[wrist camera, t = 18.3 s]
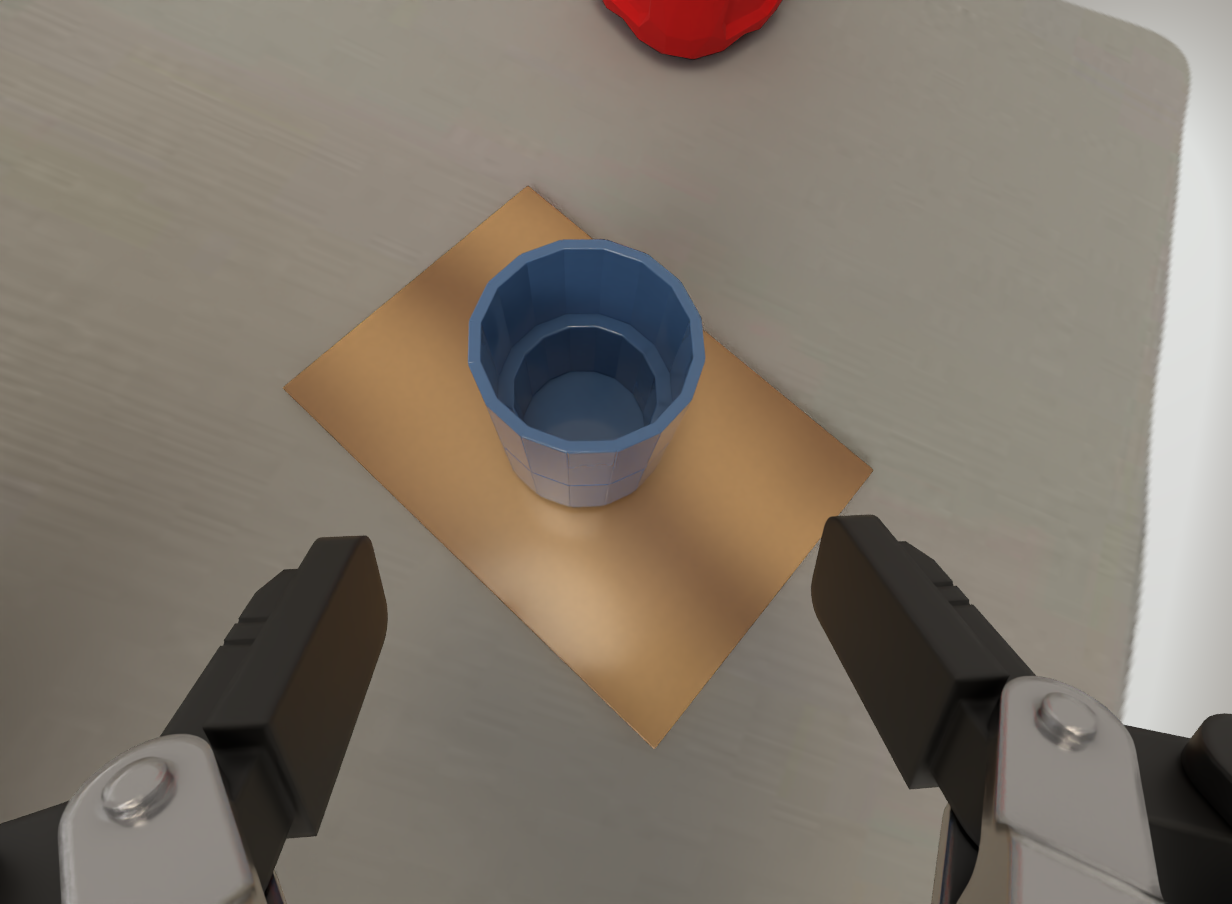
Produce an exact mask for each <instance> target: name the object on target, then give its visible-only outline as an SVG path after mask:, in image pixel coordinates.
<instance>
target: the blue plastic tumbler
mask: <svg viewBox="0 0 1232 904" xmlns="http://www.w3.org/2000/svg"><path fill="white" fill-rule="evenodd" d="M705 359H706V357H705V348H704V338H703V328H702V319H701V316H700V314H699V313H698V311H697V309H696V307H695V306H694V304H693V302H692V300H691V298H690V297H689V295H688V293H687V291H686V290H685V288H684V286H683V284H682V282H680V280H679V279H678V278H676V277H675V276H674V275H673V274H672V273H670V272H669V271H668V270H667V269H665V268H664V267H663V266H662V265H660V264H659V263H658V262H657V261H656V260H654V259H653V258H652V257H651V256H649V255H648V254H646V253H644V252H641V251H638V250H635V249H632V248H629V247H626V246H623V245H621V244H618V243H615V242H612V241H609V240H605V239H563V240H558V241H556V242H553V243H550V244H547V245H544V246H542V247H539V248H536V249H533V250H530V251H528V252H525V253H522V254H521V255H519V256H517V257H516V258H515V259H514V260H513V261H512V262H511V263H509V264H508V265H507V266H506V267H505V268H504V269H502V270H501V271H500V272H499V273H498V274H497V275H495V276H494V277H493V278H492V279H491V280H490V281H489V282H488V283H487V284H486V287H485V289H484V291H483V293H482V295H481V297H480V299H479V301H478V303H477V305H476V307H475V309H474V311H473V313H472V315H471V317H470V319H469V328H468V366H469V368H470V371H471V373H472V375H473V378H474V380H475V383H476V385H477V387H478V390H479V392H480V394H481V397H482V399H483V402H484V404H485V406H486V409H487V411H488V413H489V416H490V418H491V421H492V423H493V425H494V428H495V430H496V432H497V435H498V437H499V440H500V442H501V444H502V447H503V449H504V451H505V453H506V456H507V458H508V460H509V463H510V465H511V467H512V469H513V471H514V472H515V474H516V475H517V476H518V477H519V478H520V479H521V480H522V481H523V482H524V483H525V484H526V485H528V486H529V487H530V488H531V489H532V490H533V491H534V492H535V493H536V494H539V496H540V497H543V498H546V499H549V500H551V501H554V502H557V503H560V504H562V505H565V506H568V507H570V506H571V507H593V506H604V505H607V504H610V503H612V502H614V501H616V500H618V499H621V498H623V497H625V496H627V495H629V494H632V493H633V492H634V491H636V490H637V489H638V488H639V487H640V486H641V485H642V483H643V482H644V481H645V480H646V479H647V478H648V477H649V476H650V475H651V474H652V473H653V472H654V470H655V469H656V467H657V466H658V464H659V462H660V460H661V458H662V456H663V454H664V452H665V450H666V448H667V446H668V444H669V442H670V441H671V439H672V437H673V435H674V433H675V431H676V429H677V428H678V426H679V424H680V422H681V420H682V418H683V416H684V414H685V412H686V410H687V408H688V406H689V405H690V403H691V401H692V399H693V396H694V393H695V390H696V387H697V384H698V381H699V378H700V375H701V372H702V369H703V366H704V363H705Z"/></svg>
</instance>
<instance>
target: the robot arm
mask: <svg viewBox="0 0 1232 904" xmlns="http://www.w3.org/2000/svg"><path fill="white" fill-rule="evenodd" d="M811 596H812V603H813V607H814V611H815V613H816V616H817V618H818V620H819V622H820V624H821V626H822V627H823V629H824V631H825V633H826V635H827V637H828V639H829V641H830V642H831V644H832V646H833V648H834V650H835V652H836V654H837V655H838V657H839V659H840V661H841V663H842V665H843V667H844V669H845V670H846V672H847V674H848V676H849V678H850V680H851V682H852V683H853V685H854V687H855V689H856V691H857V693H858V695H859V697H860V698H861V700H862V702H863V704H864V706H865V708H866V710H867V712H868V713H869V715H870V717H871V719H872V721H873V723H874V725H875V726H876V728H877V730H878V732H879V734H880V736H881V738H882V740H883V741H884V743H885V745H886V747H887V749H888V751H889V753H890V754H891V756H892V758H893V760H894V762H895V764H896V766H897V768H898V769H899V771H900V773H901V775H902V777H903V779H904V781H905V782H906V784H907V786H908V788H909V789H920V788H932V787H939V788H940V789H941V791H942V793H943V794H944V796H945V798H946V800H947V801H948V803H947V806H946V808H945V810H944V813H943V817H942V824H941V831H940V839H939V847H938V854H937V862H936V870H935V877H934V885H933V893H932V900H931V904H1232V714H1216V715H1213V716H1210V717H1208V718H1207V719H1206V720H1205V721H1204V722H1203V723H1202V725H1201V726H1200V727H1199V728H1198V730H1197V731H1196V732H1195V733H1194V735H1193V736H1192V738H1186V737H1181V736H1176V735H1171V734H1166V733H1161V732H1156V731H1151V730H1146V729H1142V728H1137V727H1132V726H1127V725H1123V723H1122V722H1121V721H1120V720H1119V719H1118V718H1117V717H1116V716H1115V715H1114V714H1113V713H1112V712H1111V711H1110V710H1109V709H1108V708H1106V707H1105V706H1104V705H1103V704H1101V703H1100V702H1099V701H1097V700H1096V699H1094V698H1093V697H1091V696H1090V695H1088V694H1086V693H1085V692H1083V691H1081V690H1079V689H1077V688H1075V687H1073V686H1071V685H1068V684H1066V683H1064V682H1061V681H1057V680H1054V679H1051V678H1046V677H1040V676H1036V675H1035V674H1034V673H1033V672H1032V671H1031V669H1030V668H1029V667H1028V666H1027V665H1026V664H1025V663H1024V662H1023V660H1022V659H1021V658H1020V657H1019V656H1018V655H1017V654H1016V652H1015V651H1014V650H1013V649H1012V648H1011V647H1010V646H1009V645H1008V643H1007V642H1006V641H1005V640H1004V639H1003V638H1002V637H1001V635H1000V634H999V633H998V632H997V631H996V630H995V629H994V628H993V626H992V625H991V624H990V623H989V622H988V621H987V620H986V619H985V617H984V616H983V615H982V614H981V613H980V612H979V611H978V609H977V608H976V607H975V606H974V605H970V604H969V599H968V598H967V597H966V596H965V595H964V594H963V592H962V591H961V590H960V589H959V588H958V587H957V586H953V581H952V580H951V579H950V578H949V577H948V576H947V574H946V573H945V572H944V571H943V570H942V569H941V568H940V566H939V565H938V564H937V563H936V562H935V561H934V560H933V559H932V558H930V557H929V556H927V555H926V554H924V553H923V552H921V551H920V550H918V549H917V548H915V547H914V546H912V545H911V544H909V543H907V542H906V541H902V542H898V541H897V540H896V538H895V537H894V536H893V535H892V534H891V532H890V531H889V530H888V529H887V528H886V526H885V525H884V524H883V523H882V522H881V520H880V519H879V518H878V517H876V516H875V515H852V516H832V517H829V518H828V519H827V521H826V523H825V525H824V529H823V533H822V538H821V542H820V547H819V551H818V556H817V560H816V565H815V569H814V574H813V578H812V584H811ZM387 621H388V612H387V603H386V599H385V595H384V591H383V586H382V582H381V578H380V574H379V570H378V566H377V562H376V558H375V553H374V549H373V546H372V543H371V540H370V539H369V537H367V536H343V537H321V538H318V539H317V540H316V541H315V542H314V543H313V545H312V546H311V548H310V550H309V551H308V553H307V555H306V556H305V558H304V560H303V561H302V563H301V565H300V566H299V568H298V569H287V570H283V571H282V572H280V573H279V574H278V575H277V576H275V577H274V578H273V579H272V580H270V581H269V582H268V583H267V584H266V585H264V586H263V587H262V588H261V589H259V590H258V591H257V592H256V593H255V594H254V596H253V597H252V599H251V600H250V602H249V603H248V605H247V606H246V608H245V609H244V611H243V612H242V614H241V615H240V617H239V622H238V623H236V624H234V626H233V627H232V629H231V630H230V632H229V633H228V635H227V636H226V638H225V639H224V645H223V646H220V647H219V648H218V650H217V651H216V653H215V654H214V656H213V657H212V659H211V660H210V662H209V663H208V665H207V666H206V668H205V670H204V671H203V673H202V674H201V676H200V677H199V679H198V680H197V682H196V683H195V685H194V686H193V688H192V689H191V691H190V692H189V694H188V695H187V697H186V698H185V700H184V701H183V703H182V704H181V706H180V707H179V709H178V710H177V712H176V713H175V715H174V716H173V718H172V719H171V721H170V722H169V724H168V725H167V727H166V728H165V730H164V731H163V733H162V734H161V735H160V737H158V738H154V739H152V740H149V741H146V742H143V743H141V744H139V745H137V746H134V747H132V748H130V749H129V750H127V751H125V752H123V753H121V754H120V755H118V756H117V757H115V758H114V759H112V760H111V761H109V762H108V763H106V764H105V765H104V766H102V767H101V768H100V769H99V770H97V771H96V772H95V773H94V774H93V775H92V776H91V777H90V778H89V779H88V780H87V781H86V782H85V783H84V784H83V785H82V786H81V787H80V788H79V789H78V791H77V792H76V793H75V794H74V796H73V797H72V798H71V800H70V801H67V802H64V803H62V804H59V805H56V806H53V807H50V808H47V809H44V810H41V811H38V812H35V813H32V814H29V815H26V816H23V817H20V818H17V819H14V820H11V821H8V822H5V823H2V824H0V904H287V902H286V899H285V896H284V893H283V890H282V887H281V885H280V882H279V879H278V876H277V874H276V872H275V870H274V868H275V866H276V863H277V861H278V858H279V856H280V853H281V850H282V848H283V845H284V843H285V840H286V839H287V838H299V837H311V836H317V833H318V831H319V828H320V825H321V822H322V819H323V816H324V813H325V810H326V807H327V805H328V802H329V799H330V796H331V793H332V790H333V787H334V784H335V782H336V779H337V776H338V773H339V770H340V767H341V764H342V761H343V758H344V756H345V753H346V750H347V747H348V744H349V741H350V738H351V735H352V733H353V730H354V727H355V724H356V721H357V718H358V715H359V712H360V710H361V707H362V704H363V701H364V698H365V695H366V692H367V689H368V686H369V684H370V681H371V678H372V675H373V672H374V669H375V666H376V663H377V661H378V658H379V655H380V652H381V649H382V646H383V643H384V640H385V636H386V631H387Z"/></svg>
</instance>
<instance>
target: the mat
mask: <svg viewBox="0 0 1232 904" xmlns="http://www.w3.org/2000/svg"><path fill="white" fill-rule="evenodd" d="M563 239H592V238H591V237H590V236H589V235H587V234H586V233H585V232H584V231H582V230H581V229H580V228H579V227H578V226H576V225H575V224H574V223H573V222H572V221H570V220H569V219H568V218H567V217H565V216H564V215H563V214H562V213H561V212H559V211H558V210H557V209H556V208H554V207H553V206H552V205H551V204H550V203H548V202H547V201H546V200H545V199H544V198H542V197H541V196H540V195H539V194H537V193H536V192H535V191H534V190H533V189H531V188H530V187H529V186H526V187H525V188H524V189H523V190H522V191H520V192H519V193H518V194H517V195H516V196H514V197H513V198H512V199H511V200H510V201H508V202H507V203H506V204H505V205H503V206H502V207H501V208H500V209H499V210H497V211H496V212H495V213H494V214H493V215H491V216H490V217H489V218H488V219H486V220H485V221H484V222H483V223H482V224H480V225H479V226H478V227H477V228H476V229H474V230H473V231H472V232H471V233H469V234H468V235H467V236H466V237H465V238H463V239H462V240H461V241H460V242H459V243H457V244H456V245H455V246H454V247H453V248H451V249H450V250H449V251H448V252H446V253H445V254H444V255H443V256H442V257H440V258H439V259H438V260H437V261H436V262H434V263H433V264H432V265H431V266H429V267H428V268H427V269H426V270H425V271H423V272H422V273H421V274H420V275H419V276H417V277H416V278H415V279H414V280H412V281H411V282H410V283H409V284H408V285H406V286H405V287H404V288H403V289H402V290H400V291H399V292H398V293H397V294H396V295H394V296H393V297H392V298H391V299H389V300H388V301H387V302H386V303H385V304H383V305H382V306H381V307H380V308H379V309H377V310H376V311H375V312H374V313H372V314H371V315H370V316H369V317H368V318H366V319H365V320H364V321H363V322H362V323H360V324H359V325H358V326H357V327H355V328H354V329H353V330H352V331H351V332H349V333H348V334H347V335H346V336H345V337H343V338H342V339H341V340H340V341H339V342H337V343H336V344H335V345H334V346H332V347H331V348H330V349H329V350H328V351H326V352H325V353H324V354H323V355H322V356H320V357H319V358H318V359H317V360H315V361H314V362H313V363H312V364H311V365H309V366H308V367H307V368H306V369H305V370H303V371H302V372H301V373H300V374H299V375H297V376H296V377H295V378H294V379H292V380H291V381H290V382H289V383H288V384H286V385H285V386H284V387H283V389H284V390H285V391H286V392H287V393H288V394H289V395H290V396H291V397H292V398H293V399H294V400H295V401H296V402H297V403H298V404H299V405H301V406H302V407H303V408H304V409H305V410H306V411H307V412H308V413H309V414H310V415H311V416H312V417H313V418H314V419H315V420H316V421H317V422H318V423H319V424H320V425H321V426H322V427H323V428H324V429H325V430H326V431H327V432H328V433H329V434H330V435H331V436H332V437H333V438H334V439H335V440H336V441H338V442H339V443H340V444H341V445H342V446H343V447H344V448H345V449H346V450H347V451H348V452H349V453H350V454H351V455H352V456H353V457H354V458H355V459H356V460H357V461H358V462H359V463H360V464H361V465H362V466H363V467H364V468H365V469H366V470H367V471H368V472H369V473H370V474H371V475H372V476H373V477H375V478H376V479H377V480H378V481H379V482H380V483H381V484H382V485H383V486H384V487H385V488H386V489H387V490H388V491H389V492H390V493H391V494H392V495H393V496H394V497H395V498H396V499H397V500H398V501H399V502H400V503H401V504H402V505H403V506H404V507H405V508H406V509H407V510H408V511H409V512H410V513H412V514H413V515H414V516H415V517H416V518H417V519H418V520H419V521H420V522H421V523H422V524H423V525H424V526H425V527H426V528H427V529H428V530H429V531H430V532H431V533H432V534H433V535H434V536H435V537H436V538H437V539H438V540H439V541H440V542H441V543H442V544H443V545H444V546H445V547H446V548H447V549H449V550H450V551H451V552H452V553H453V554H454V555H455V556H456V557H457V558H458V559H459V560H460V561H461V562H462V563H463V564H464V565H465V566H466V567H467V568H468V569H469V570H470V571H471V572H472V573H473V574H474V575H475V576H476V577H477V578H478V579H479V580H480V581H481V582H482V583H483V584H484V585H486V586H487V587H488V588H489V589H490V590H491V591H492V592H493V593H494V594H495V595H496V596H497V597H498V598H499V599H500V600H501V601H502V602H503V603H504V604H505V605H506V606H507V607H508V608H509V609H510V610H511V611H512V612H513V613H514V614H515V615H516V616H517V617H518V618H519V619H520V620H521V621H523V622H524V623H525V624H526V625H527V626H528V627H529V628H530V629H531V630H532V631H533V632H534V633H535V634H536V635H537V636H538V637H539V638H540V639H541V640H542V641H543V642H544V643H545V644H546V645H547V646H548V647H549V648H550V649H551V650H552V651H553V652H554V653H555V654H556V655H557V656H558V657H560V658H561V659H562V660H563V661H564V662H565V663H566V664H567V665H568V666H569V667H570V668H571V669H572V670H573V671H574V672H575V673H576V674H577V675H578V676H579V677H580V678H581V679H582V680H583V681H584V682H585V683H586V684H587V685H588V686H589V687H590V688H591V689H592V690H593V691H594V692H595V693H597V694H598V695H599V696H600V697H601V698H602V699H603V700H604V701H605V702H606V703H607V704H608V705H609V706H610V707H611V708H612V709H613V710H614V711H615V712H616V713H617V714H618V715H619V716H620V717H621V718H622V719H623V720H624V721H625V722H626V723H627V724H628V725H629V726H630V727H631V728H632V729H634V730H635V731H636V732H637V733H638V734H639V735H640V736H641V737H642V738H643V739H644V740H645V741H646V742H647V743H648V744H649V745H650V746H651V747H652V748H653V749H655V748H656V747H657V746H658V744H659V743H660V742H661V740H662V739H663V738H664V737H665V735H666V734H667V733H668V732H669V730H670V729H671V728H672V726H673V725H674V724H675V723H676V721H677V720H678V719H679V718H680V716H681V715H682V714H683V712H684V711H685V710H686V709H687V707H688V706H689V705H690V704H691V702H692V701H693V700H694V698H695V697H696V696H697V695H698V693H699V692H700V691H701V689H702V688H703V687H704V686H705V684H706V683H707V682H708V681H709V679H710V678H711V677H712V675H713V674H714V673H715V672H716V670H717V669H718V668H719V667H720V665H721V664H722V663H723V661H724V660H725V659H726V658H727V656H728V655H729V654H730V653H731V651H732V650H733V649H734V647H735V646H736V645H737V644H738V642H739V641H740V640H741V639H742V637H743V636H744V635H745V633H746V632H747V631H748V630H749V628H750V627H751V626H752V625H753V623H754V622H755V621H756V619H757V618H758V617H759V616H760V614H761V613H762V612H763V611H764V609H765V608H766V607H767V605H768V604H769V603H770V602H771V600H772V599H773V598H774V597H775V595H776V594H777V593H778V591H779V590H780V589H781V588H782V586H783V585H784V584H785V583H786V581H787V580H788V579H789V577H790V576H791V575H792V574H793V572H794V571H795V570H796V569H797V567H798V566H799V565H800V563H801V562H802V561H803V560H804V558H805V557H806V556H807V555H808V553H809V552H810V551H811V549H812V548H813V547H814V546H815V544H816V543H817V542H818V541H819V539H820V538H821V537H822V533H823V529H824V525H825V523H826V521H827V519H828V518H829V517H832V516H838V515H839V514H840V513H841V511H842V510H843V509H844V507H845V506H846V505H847V504H848V502H849V501H850V500H851V498H852V497H853V496H854V495H855V493H856V492H857V491H858V490H859V488H860V487H861V486H862V484H863V483H864V482H865V481H866V479H867V478H868V477H869V476H870V474H871V473H872V472H873V469H872V468H871V467H870V466H868V465H867V464H866V463H865V462H864V461H862V460H861V459H860V458H859V457H857V456H856V455H855V454H854V453H853V452H851V451H850V450H849V449H848V448H847V447H845V446H844V445H843V444H842V443H840V442H839V441H838V440H837V439H836V438H834V437H833V436H832V435H831V434H829V433H828V432H827V431H826V430H825V429H823V428H822V427H821V426H820V425H819V424H817V423H816V422H815V421H814V420H812V419H811V418H810V417H809V416H808V415H806V414H805V413H804V412H803V411H802V410H800V409H799V408H798V407H797V406H795V405H794V404H793V403H792V402H791V401H789V400H788V399H787V398H786V397H784V396H783V395H782V394H781V393H780V392H778V391H777V390H776V389H775V388H774V387H772V386H771V385H770V384H769V383H767V382H766V381H765V380H764V379H763V378H761V377H760V376H759V375H758V374H756V373H755V372H754V371H753V370H752V369H750V368H749V367H748V366H747V365H746V364H744V363H743V362H742V361H741V360H739V359H738V358H737V357H736V356H735V355H733V354H732V353H731V352H730V351H728V350H727V349H726V348H725V347H724V346H722V345H721V344H720V343H719V342H718V341H716V340H715V339H714V338H713V337H711V336H710V335H709V334H708V333H707V332H705V331H704V330H703V338H704V348H705V357H706V359H705V363H704V366H703V369H702V372H701V375H700V378H699V381H698V384H697V387H696V390H695V393H694V396H693V399H692V401H691V403H690V405H689V406H688V408H687V410H686V412H685V414H684V416H683V418H682V420H681V422H680V424H679V426H678V428H677V429H676V431H675V433H674V435H673V437H672V439H671V441H670V442H669V444H668V446H667V448H666V450H665V452H664V454H663V456H662V458H661V460H660V462H659V464H658V466H657V467H656V469H655V470H654V472H653V473H652V474H651V475H650V476H649V477H648V478H647V479H646V480H645V481H644V482H643V483H642V485H641V486H640V487H639V488H638V489H637V490H636V491H634V492H633V493H632V494H629V495H627V496H625V497H623V498H621V499H618V500H616V501H614V502H612V503H610V504H607V505H604V506H593V507H571V506H570V507H568V506H565V505H562V504H560V503H557V502H554V501H551V500H549V499H546V498H543V497H540V496H539V494H536V493H535V492H534V491H533V490H532V489H531V488H530V487H529V486H528V485H526V484H525V483H524V482H523V481H522V480H521V479H520V478H519V477H518V476H517V475H516V474H515V472H514V471H513V469H512V467H511V465H510V463H509V460H508V458H507V456H506V453H505V451H504V449H503V447H502V444H501V442H500V440H499V437H498V435H497V432H496V430H495V428H494V425H493V423H492V421H491V418H490V416H489V413H488V411H487V409H486V406H485V404H484V402H483V399H482V397H481V394H480V392H479V390H478V387H477V385H476V383H475V380H474V378H473V375H472V373H471V371H470V368H469V366H468V328H469V319H470V317H471V315H472V313H473V311H474V309H475V307H476V305H477V303H478V301H479V299H480V297H481V295H482V293H483V291H484V289H485V287H486V284H487V283H488V282H489V281H490V280H491V279H492V278H493V277H494V276H495V275H497V274H498V273H499V272H500V271H501V270H502V269H504V268H505V267H506V266H507V265H508V264H509V263H511V262H512V261H513V260H514V259H515V258H516V257H517V256H519V255H521V254H522V253H525V252H528V251H530V250H533V249H536V248H539V247H542V246H544V245H547V244H550V243H553V242H556V241H558V240H563Z"/></svg>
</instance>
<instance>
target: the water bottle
mask: <svg viewBox="0 0 1232 904" xmlns="http://www.w3.org/2000/svg"><path fill="white" fill-rule="evenodd" d="M781 1H782V0H603V2H604V4H605V6H606V8H608V9H609V10H611V11H612V12H614V13H615V14H617V15H618V16H620V17H621V18H623V19H624V21H625V22H626V23H627V25H628V26H629V27H630V29H631V30H632V31H633V32H634V34H635V35H636V36H637V38H638V39H639V40H641V41H642V42H644V43H645V44H647V45H649V46H650V47H652V48H653V49H655V50H656V51H658V52H659V53H662V54H667V55H673V56H678V57H684V58H689V59H697V58H700V57H703V56H707V55H710V54H714V53H717V52H720V51H723V50H725V49H726V48H727V47H728V46H730V45H731V44H732V43H734V42H735V41H736V40H737V39H739V38H740V37H741V36H743V35H744V34H746V33H749V32H752V31H755V30H758V29H760V28H761V27H762V26H763V25H764V23H765V22H766V21H767V20H768V19H769V18H770V17H771V15H772V14H773V13H774V12H775V11H776V10H777V8H778V6H779V5H780V3H781Z"/></svg>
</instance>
